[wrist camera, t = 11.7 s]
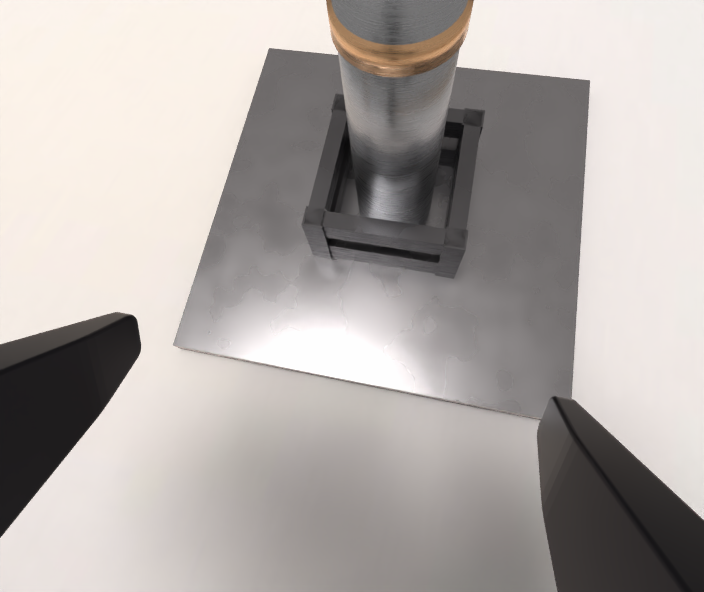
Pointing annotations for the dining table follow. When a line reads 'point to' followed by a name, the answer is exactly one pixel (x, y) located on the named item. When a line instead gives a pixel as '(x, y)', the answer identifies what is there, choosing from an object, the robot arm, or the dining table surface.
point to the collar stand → (402, 244)
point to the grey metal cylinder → (397, 96)
